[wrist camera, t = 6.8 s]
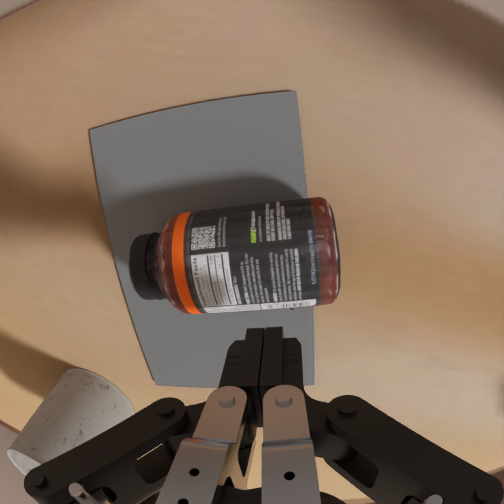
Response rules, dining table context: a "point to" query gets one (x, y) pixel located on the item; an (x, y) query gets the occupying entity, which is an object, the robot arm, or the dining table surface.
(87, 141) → the dining table surface
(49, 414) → the speckled concrete cylinder
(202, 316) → the mat
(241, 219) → the supplement bottle
